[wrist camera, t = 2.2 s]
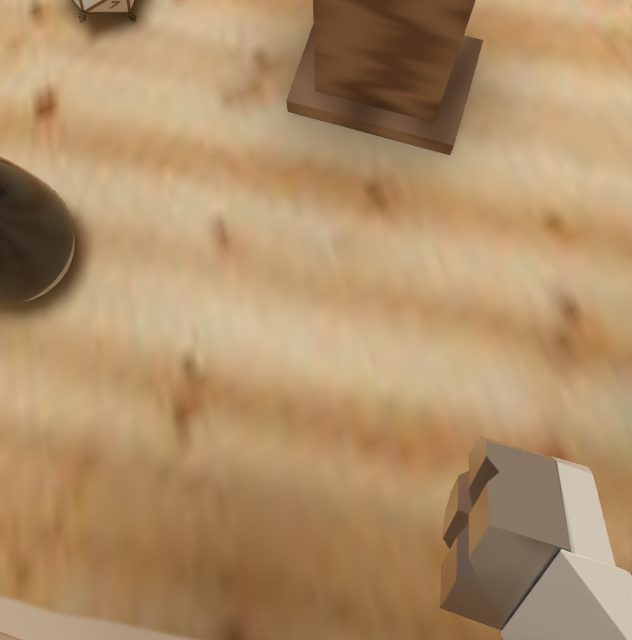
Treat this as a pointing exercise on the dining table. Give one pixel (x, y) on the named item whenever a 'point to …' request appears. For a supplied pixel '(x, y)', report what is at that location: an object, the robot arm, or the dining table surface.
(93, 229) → the dining table surface
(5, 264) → the pump dispenser
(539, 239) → the dining table surface
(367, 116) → the walnut stand
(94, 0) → the game die
